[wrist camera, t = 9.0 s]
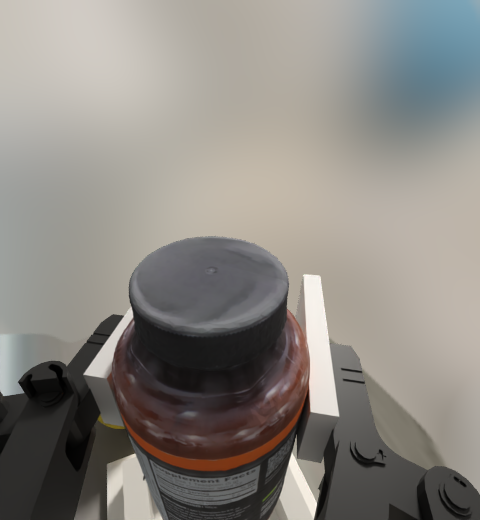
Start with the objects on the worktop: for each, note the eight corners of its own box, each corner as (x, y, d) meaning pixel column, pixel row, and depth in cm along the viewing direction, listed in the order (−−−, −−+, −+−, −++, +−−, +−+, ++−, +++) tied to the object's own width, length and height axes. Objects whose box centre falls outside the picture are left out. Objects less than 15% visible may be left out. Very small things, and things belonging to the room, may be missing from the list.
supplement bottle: (186, 393, 16) (162, 209, 10) (289, 422, 15) (333, 233, 9) (124, 525, 12) (11, 325, 5) (269, 584, 10) (333, 412, 4)
